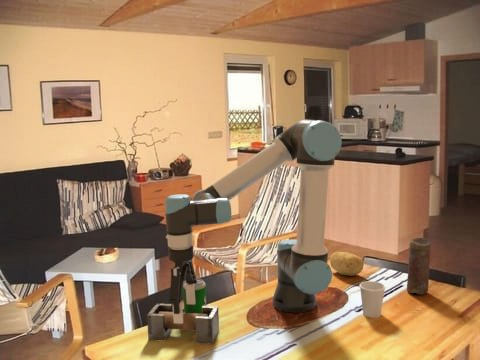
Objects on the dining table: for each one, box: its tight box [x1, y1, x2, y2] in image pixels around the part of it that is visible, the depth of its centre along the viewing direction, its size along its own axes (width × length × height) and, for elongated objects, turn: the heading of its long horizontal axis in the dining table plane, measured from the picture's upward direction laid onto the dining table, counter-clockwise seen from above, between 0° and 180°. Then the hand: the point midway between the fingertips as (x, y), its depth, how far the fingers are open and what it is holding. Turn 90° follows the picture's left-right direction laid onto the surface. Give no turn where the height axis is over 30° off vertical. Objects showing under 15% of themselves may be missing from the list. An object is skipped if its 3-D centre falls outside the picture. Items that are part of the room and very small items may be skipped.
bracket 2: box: [195, 305, 220, 345], centre depth 152 cm, size 5×9×8 cm, turn 170°
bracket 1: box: [146, 303, 173, 342], centre depth 155 cm, size 5×9×8 cm, turn 170°
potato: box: [329, 251, 365, 277], centre depth 204 cm, size 10×14×10 cm
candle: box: [406, 237, 432, 295], centre depth 182 cm, size 8×7×20 cm
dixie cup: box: [359, 280, 387, 319], centre depth 166 cm, size 8×8×10 cm
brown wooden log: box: [158, 311, 208, 331], centre depth 154 cm, size 15×5×5 cm, turn 80°
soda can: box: [182, 277, 207, 314], centre depth 168 cm, size 8×8×12 cm
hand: (185, 313), depth 153 cm, fingers open, 13 cm apart
